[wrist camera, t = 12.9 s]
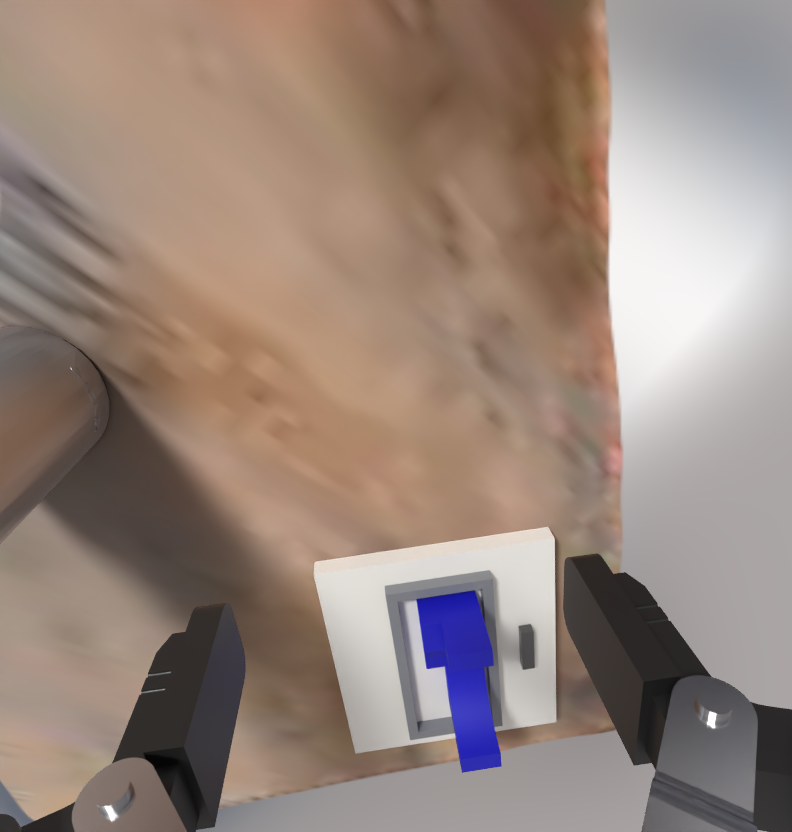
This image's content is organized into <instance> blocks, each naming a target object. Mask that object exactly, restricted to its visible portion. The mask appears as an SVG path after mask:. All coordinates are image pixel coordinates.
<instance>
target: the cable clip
mask: <svg viewBox="0 0 792 832" xmlns="http://www.w3.org/2000/svg"><path fill="white" fill-rule="evenodd" d="M416 601H417V607H418V614H419V621H420V628H421V635H422V642H423V649H424V656H425V662H426V669H432V668H438V667H445V674H446V682H447V690H448V698H449V705H450V710H451V716H452V721H453V726H454V732H455V737H456V742H457V748H458V753H459V758H460V764H461V769H462V772H468V771H475V770H481V769H487V768H493V767H500V766H501V754H500V750H499V746H498V741H497V737H496V733H495V728H494V723H493V719H492V714H491V708H490V703H489V698H488V692H487V686H486V679H485V671H484V667H489V666H494V662H493V649H492V646H491V643H490V639H489V636H488V633H487V629H486V626H485V623H484V619H483V616H482V613H481V609H480V606H479V602H478V599H477V596H476V592H475V590H473V591H466V592H459V593H453V594H446V595H440V596H433V597H427V598H420V599H416Z"/></svg>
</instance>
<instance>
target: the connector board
mask: <svg viewBox="0 0 792 832" xmlns="http://www.w3.org/2000/svg"><path fill="white" fill-rule="evenodd" d="M314 578H315V583H316V587H317V591H318V596H319V600H320V604H321V608H322V613H323V617H324V621H325V625H326V630H327V634H328V638H329V643H330V647H331V651H332V655H333V660H334V664H335V668H336V672H337V677H338V681H339V685H340V690H341V694H342V698H343V702H344V707H345V711H346V715H347V719H348V724H349V728H350V732H351V736H352V741H353V745H354V749H355V754H356V753H362V752H369V751H375V750H382V749H388V748H394V747H401V746H407V745H413V744H420V743H426V742H433V741H439V740H445V739H452V738H456V737H455V732H454V726H453V721H452V716H451V710H450V705H449V698H448V690H447V682H446V674H445V667H438V668H432V669H426V662H425V656H424V649H423V642H422V635H421V628H420V621H419V614H418V607H417V601H416V599H420V598H427V597H433V596H440V595H446V594H453V593H459V592H466V591H473V590H475V592H476V596H477V599H478V602H479V606H480V609H481V613H482V616H483V619H484V623H485V626H486V629H487V633H488V636H489V639H490V643H491V646H492V649H493V662H494V666H489V667H484V671H485V679H486V686H487V692H488V698H489V703H490V708H491V714H492V719H493V723H494V728H495V732H496V731H503V730H509V729H515V728H522V727H528V726H534V725H541V724H547V723H554V722H556V635H555V538H554V536H553V535H552V533H551V531H550V529H549V528H548V527H543V528H537V529H530V530H523V531H517V532H510V533H503V534H497V535H490V536H483V537H477V538H470V539H463V540H457V541H450V542H443V543H437V544H430V545H423V546H417V547H410V548H403V549H397V550H390V551H383V552H377V553H370V554H363V555H357V556H350V557H343V558H337V559H330V560H323V561H317V562H315V566H314Z"/></svg>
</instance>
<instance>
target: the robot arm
mask: <svg viewBox="0 0 792 832" xmlns="http://www.w3.org/2000/svg"><path fill="white" fill-rule="evenodd" d="M108 419H109V398H108V394H107V390H106V386H105V384H104V382H103V380H102V378H101V376H100V374H99V372H98V371H97V370H96V368H95V367H94V366H93V364H92V363H91V362H90V360H89V359H88V358H87V357H85V356H84V355H83V354H82V353H81V352H80V351H79V350H78V349H77V348H75V347H74V346H72V345H71V344H69V343H68V342H66V341H65V340H63V339H62V338H59V337H57V336H55V335H53V334H50V333H48V332H46V331H42V330H38V329H34V328H29V327H16V326H9V327H2V328H0V544H1V543H2V542H3V541H4V540H5V539H6V537H7V536H8V535H9V534H10V533H11V532H12V531H13V530H14V529H15V528H16V527H17V526H18V525H19V524H20V523H21V522H22V521H23V520H24V519H25V517H26V516H27V515H28V514H29V513H30V512H31V511H32V510H33V509H34V508H35V507H36V506H37V505H38V504H39V503H40V502H41V501H42V500H43V499H44V497H45V496H46V495H47V494H48V493H49V492H50V491H51V490H52V489H53V488H54V487H55V486H56V485H57V484H58V483H59V482H60V481H61V480H62V479H63V477H64V476H65V475H66V474H67V473H68V472H69V471H70V470H71V469H72V468H73V467H74V466H75V465H76V464H77V463H78V462H79V461H80V459H81V458H82V457H83V456H84V455H85V454H86V453H87V452H88V451H89V450H90V449H91V448H92V447H93V446H94V445H95V443H96V442H97V441H98V440H99V439H100V438H101V436H102V434H103V432H104V431H105V429H106V427H107V423H108ZM563 610H564V617H565V622H566V625H567V629H568V631H569V634H570V636H571V638H572V640H573V642H574V644H575V646H576V648H577V650H578V652H579V654H580V656H581V658H582V660H583V663H584V665H585V667H586V669H587V671H588V673H589V675H590V677H591V679H592V681H593V683H594V685H595V687H596V689H597V691H598V693H599V695H600V697H601V699H602V701H603V703H604V705H605V707H606V709H607V711H608V713H609V716H610V718H611V720H612V722H613V724H614V726H615V728H616V730H617V732H618V734H619V736H620V738H621V740H622V742H623V744H624V746H625V748H626V750H627V752H628V754H629V756H630V758H631V760H632V762H633V764H634V765H640V764H647V763H652V764H653V765H654V768H655V770H656V772H655V776H654V778H653V780H652V784H651V788H650V793H649V798H648V802H647V807H646V812H645V817H644V822H643V826H642V831H641V832H757V830H763V831H767V832H792V710H790V709H783V708H777V707H770V706H764V705H758V704H755V703H752V702H750V701H749V700H748V699H747V698H746V697H745V696H744V695H743V694H742V693H741V692H740V691H739V690H737V689H736V688H734V687H733V686H731V685H730V684H728V683H726V682H724V681H721V680H719V679H716V678H713V677H711V676H710V674H709V673H708V672H707V670H706V669H705V668H704V666H703V665H702V664H701V662H700V661H699V660H698V658H697V657H696V655H695V654H694V653H693V651H692V650H691V649H690V647H689V646H688V645H687V643H686V642H685V640H684V639H683V638H682V636H681V635H680V634H679V632H678V631H677V629H676V628H675V627H674V625H673V624H672V623H671V621H668V617H667V616H666V615H665V613H664V612H663V611H662V609H661V608H660V607H658V605H657V602H656V601H655V600H654V598H653V597H652V595H651V594H650V593H649V591H648V590H647V588H646V587H645V586H644V585H642V584H641V583H639V582H638V581H637V580H635V579H634V578H633V577H631V576H630V575H628V574H627V573H625V572H624V573H617V574H613V573H612V571H611V570H610V568H609V567H608V565H607V564H606V562H605V561H604V560H603V558H602V557H601V556H600V555H599V554H590V555H583V556H575V557H568V558H566V560H565V566H564V599H563ZM244 679H245V655H244V650H243V646H242V642H241V639H240V635H239V632H238V628H237V625H236V621H235V618H234V614H233V611H232V608H231V606H230V604H229V603H224V604H216V605H209V606H202V607H196V608H195V609H194V610H193V612H192V615H191V618H190V621H189V623H188V626H187V629H186V632H182V633H175V634H172V635H171V636H170V637H169V639H168V640H167V641H166V642H165V643H164V644H163V646H162V647H161V648H160V649H159V650H158V652H157V653H156V655H155V658H154V660H153V663H152V665H151V668H150V670H149V673H148V678H146V680H145V683H144V685H143V688H142V690H141V691H142V693H141V695H139V698H138V700H137V703H136V705H135V708H134V710H133V713H132V715H131V718H130V720H129V723H128V725H127V728H126V730H125V733H124V735H123V738H122V740H121V743H120V745H119V748H118V750H117V753H116V755H115V758H114V760H113V762H112V764H110V765H109V766H107V767H105V768H104V769H102V770H101V771H100V772H98V773H97V774H96V775H95V776H94V777H93V778H92V779H91V780H90V781H89V782H88V783H87V784H86V785H85V787H84V788H83V789H82V791H81V792H80V794H79V796H78V798H77V799H76V802H74V803H72V804H71V805H69V806H67V807H65V808H63V809H61V810H58V811H56V812H54V813H52V814H49V815H47V816H45V817H43V818H41V819H38V820H36V821H34V822H32V823H30V824H27V825H25V826H23V827H20V826H19V824H18V823H17V821H16V820H15V819H14V818H13V817H11V816H9V815H6V814H0V832H196V830H198V829H204V828H211V827H215V822H216V818H217V813H218V808H219V803H220V798H221V793H222V788H223V783H224V778H225V773H226V768H227V763H228V758H229V753H230V748H231V743H232V738H233V733H234V728H235V724H236V719H237V714H238V709H239V704H240V699H241V694H242V689H243V684H244Z"/></svg>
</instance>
